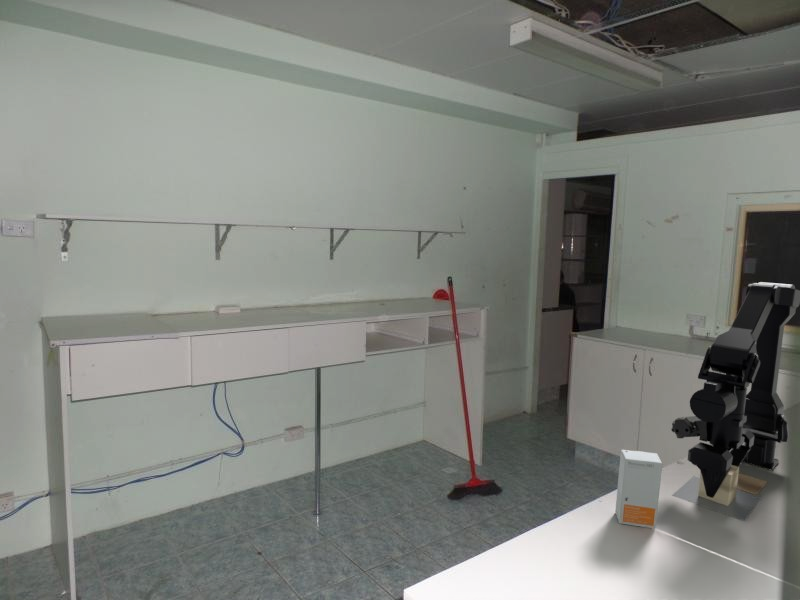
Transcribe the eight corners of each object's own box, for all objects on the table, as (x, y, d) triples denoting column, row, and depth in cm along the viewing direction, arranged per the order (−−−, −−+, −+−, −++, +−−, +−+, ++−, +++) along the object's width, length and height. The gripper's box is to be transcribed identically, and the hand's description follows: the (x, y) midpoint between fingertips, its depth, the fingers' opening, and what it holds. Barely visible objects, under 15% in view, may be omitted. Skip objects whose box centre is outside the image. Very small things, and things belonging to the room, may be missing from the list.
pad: (722, 469, 113) (722, 468, 113) (767, 483, 107) (767, 481, 107) (710, 481, 107) (710, 479, 107) (756, 496, 102) (756, 494, 102)
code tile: (693, 476, 109) (693, 475, 109) (762, 499, 101) (762, 497, 101) (671, 496, 101) (671, 495, 101) (744, 522, 92) (744, 520, 92)
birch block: (706, 487, 104) (709, 458, 103) (735, 497, 101) (739, 467, 100) (698, 495, 101) (701, 466, 100) (727, 506, 97) (731, 475, 96)
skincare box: (618, 524, 91) (624, 458, 89) (615, 512, 95) (619, 448, 93) (657, 530, 89) (663, 462, 88) (651, 516, 94) (657, 452, 92)
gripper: (696, 389, 111) (689, 460, 113) (661, 409, 98) (654, 489, 100) (758, 403, 103) (750, 479, 105) (729, 426, 90) (720, 512, 92)
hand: (717, 488), depth 101 cm, fingers open, 9 cm apart
